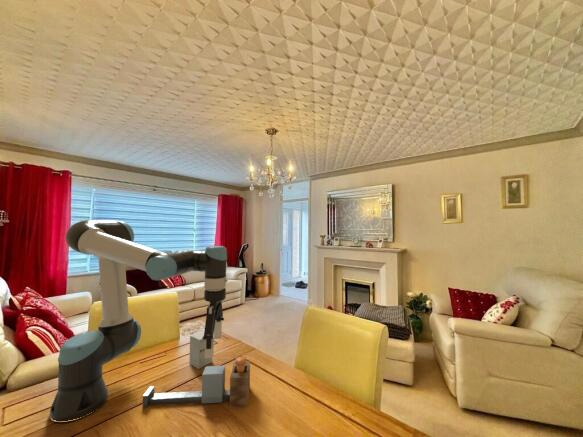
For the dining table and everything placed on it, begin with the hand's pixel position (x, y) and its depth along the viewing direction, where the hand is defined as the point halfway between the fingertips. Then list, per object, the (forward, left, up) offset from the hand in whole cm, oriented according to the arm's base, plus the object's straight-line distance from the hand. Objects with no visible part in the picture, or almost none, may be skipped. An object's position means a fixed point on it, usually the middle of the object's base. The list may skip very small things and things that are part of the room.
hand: (213, 347), depth 89 cm
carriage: (0, 0, -18) cm, 18 cm away
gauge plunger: (+10, 0, -11) cm, 15 cm away
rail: (-8, 0, -18) cm, 20 cm away
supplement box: (-11, +24, -19) cm, 32 cm away
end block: (+10, 0, -18) cm, 21 cm away
